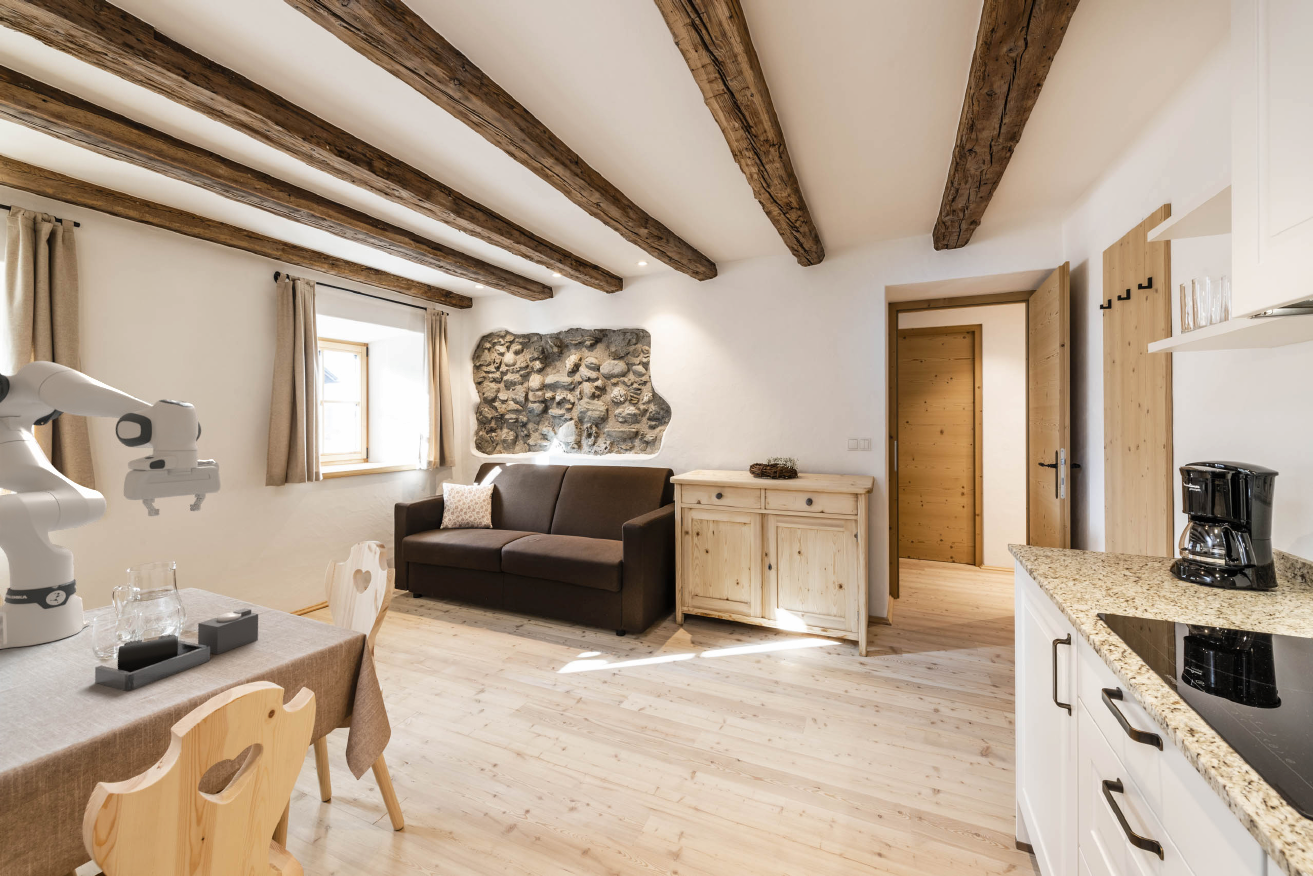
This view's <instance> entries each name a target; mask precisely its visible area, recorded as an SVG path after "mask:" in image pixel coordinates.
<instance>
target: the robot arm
mask: <svg viewBox="0 0 1313 876" xmlns="http://www.w3.org/2000/svg"><path fill="white" fill-rule="evenodd" d="M64 413H66V414H69V415H73V416H78V417H79V416H80V417H94V418H95V417H96V418H97V417H99V418H112V419H113V418H116V419H118V420H117V422H116V424H115V435H116V438H117V439H118V441H119V442H120V443H121V444H123V445H124V446H125V447H128V448H134V449H135V448H136V449H151V448H152V454H149V455H146V456H142V457H139V458H136V459H132V460H129V461H128V463H127V467H128V469H129V471H128V472H127V473H126V474H125V477H124V481H123V482H124V483H123V484H124V485H123V496H124V497H125V499H126V500H130V501H131V500H132V501H141V500H142V504H143V506H144V507H145V508H146V509H147V516H148V517H157V516H160V508H156V506H154V503H155V499H162V498H164V499H165V498H173V497H182V496H183V497H184V496H194V498H195V500H194V502H193V503H190V504H189V507H190V508H189V511H191V512H199V511H201V509H202V508H201V504H203V502H204V500H206V494H213V493H218V492H219V491H220V490H221V477H220V473H219V471H220V466H219V463H218V462H216V461H214V459H206V460H202V459H199V447H198V445H197V442H198V440H199V439H200V437H201V435H202V426H201V424H200V422H199V417H198V412H197V409H196V407H195V405H194V404H192V403H190V402H187V401H182V400H174V399H160V400H156V402H155V403H154V404H153V403H151V402H148V401H147V400H144V399H141V398H140V397H139V398H138V397H136V396H134V395H131V394H129V393H125V392H123V391H121V390H119V389H117V388H114V387H113V386H110V385H107V384H105V383H103V382H101V381H100V380H99V381H98V380H97V379H95V378H92V377H91V376H88V375H87V374H85V373H83V372H80V371H78V370H76V369H74V368H70V367H69V366H65V365H64V364H63V365H62V364H59V363H56V362H52V361H46V360H36V361H31V362H28V363H26V364H25V365H23V366H21V367H20V369H19V370H18V372H17V373H16V374H13V375H5V374H2V373H0V489H3V490H7V491H10V492H14V493H6V494H2V495H0V548H1V549H2V551H3V552H4V554H5V555H6V557H7V562H8V569H9V587H7V588H6V592H5V596H4V597H5V599H4V603H3V604H2V605H1V606H0V650H1V649H8V648H18V647H19V648H20V647H27V646H34V645H39V644H40V645H41V644H45V643H46V644H47V643H50V642H54V641H58V640H61V639H65V638H69V637H70V636H73V635H76V634H78V633H80V632H81V631H82V630H83V629H85V628H86V627H88V626H90V625H91V622H90V620H87V619H86V620H85V617H84V608H83V607H84V606H83V598H82V597H80V596H79V595H76V592H77V586H78V585H77V581H76V579H75V578H74V572H75V571H74V568H75V567H74V566H75V564H74V561H75V560H74V559H75V557H74V556H75V555H74V553H73V551H72V550H71V549H69V548H67V547H66V546H62V545H59V544H54V543H53V542H52V541H51V540H50V538H49V532H55V531H63V530H70V529H76V528H80V527H84V526H88V525H90V524H94V523H96V522H98V521H100V520H101V519H102V518H103V517H104V515H105V513H106V512H107V508H108V505H107V504H108V503H107V500H106V498H105V497H104V495H103V494H102V493H101V492H100V491H98V490H95V489H91V488H89V487H86V486H82V485H80V484H78V483H76V482H74V481H73V480H71V479H70V478H68V477H67V476H65V475H64V474H63V473H61V472H59V470H57V469H56V467H54V465H52V463H51V461H50V460H49V458H48V457H47V455H46V454H45V452H44V451H43V449H42V448H41V445H40V444H39V442H38V441H37V439H36V438H35V436H34V433H33V432H32V431H33V430H32V428H33V426H37V427H39V426H44V425H45V426H46V425H47V424H49V422H51V421H53V420H55V419H57V418H59V417H60V416H61V415H63V414H64Z"/></svg>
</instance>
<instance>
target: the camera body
mask: <svg viewBox="0 0 1313 876" xmlns="http://www.w3.org/2000/svg"><path fill="white" fill-rule="evenodd" d="M197 623H198V622H197ZM197 625H198V627H197V628H198V629H197V631H198V632H197V633H198V634H197V635H198V637H197V640H198V642H197V644H200V645H205V646H210V654H213V655H220V654H223V653H225V652H228V651H230V650H234V649H236V648H239V647H241V646H244V645H247V644H250V643H253V642H256V641H257V640H258V639H259V613H254V612H252V609H251V608H246V607H244V608H242V609H239V610H235V611H232V612H227V613H222V614H220V615H217V617H215V618H211V619H209V620H205V621H204V620H203V621H202V622H201V621H200V622H199V623H198V624H197Z"/></svg>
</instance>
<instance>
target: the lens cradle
mask: <svg viewBox="0 0 1313 876" xmlns="http://www.w3.org/2000/svg"><path fill="white" fill-rule="evenodd" d="M209 661H211V653H210V646H205V645H200V644H198V643H195V642H189V641H185V640H181V639H178V656H177V657H174V658H171V659H168V660H165V661H162V662H159V663H157V664H154V665H151V666H148V667H145V668H142V669H139V670H136V671H134V672H127V671H123V670H118V668H113V667H111V666H105V665H98V666H95V667H94V668H95V670H94V673H95V674H94V683H95V684H99V685H102V686H105V687H110V688H114V689H118V690H122V691H126V692H130V691H132V690H135V689H137V688H140V687H143V686H145V685H149V684H151V683H153V682H156V681H159V680H162V679H164V678H167V677H169V676H174V675H175V674H178V673H181V672H184V671H186V670H188V669H191V668H194V667H197V666H199V665H201V664H204V663H207V662H209Z"/></svg>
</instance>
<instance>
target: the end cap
mask: <svg viewBox="0 0 1313 876" xmlns="http://www.w3.org/2000/svg"><path fill="white" fill-rule="evenodd" d="M178 640H179V636H178V635H176V634H168V635H167V634H166V635H161V636H158V639H153V640H147V641H143V639H137V640H134V641H131V640H130V641H128V642H125V643H124V645H120V646H119V647H118V651H117V653H118V654H117V669H118V670H123V671H127V672H134V671H136V670H139V669H142V668H145V667H148V666H151V665H154V664H157V663H159V662H162V661H165V660H168V659H171V658H174V657H177V656H178Z"/></svg>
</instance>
